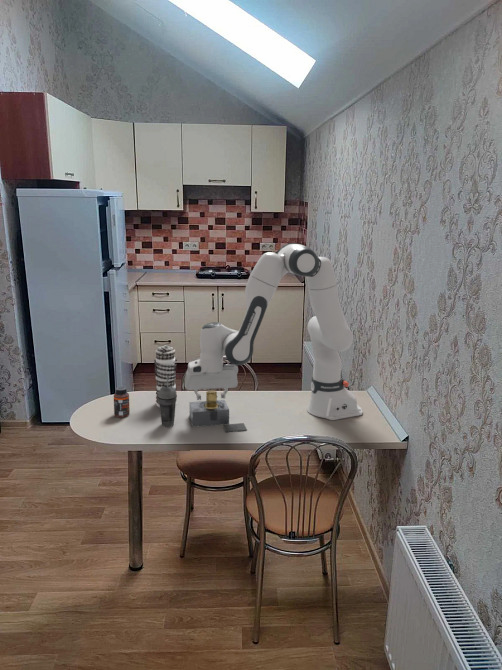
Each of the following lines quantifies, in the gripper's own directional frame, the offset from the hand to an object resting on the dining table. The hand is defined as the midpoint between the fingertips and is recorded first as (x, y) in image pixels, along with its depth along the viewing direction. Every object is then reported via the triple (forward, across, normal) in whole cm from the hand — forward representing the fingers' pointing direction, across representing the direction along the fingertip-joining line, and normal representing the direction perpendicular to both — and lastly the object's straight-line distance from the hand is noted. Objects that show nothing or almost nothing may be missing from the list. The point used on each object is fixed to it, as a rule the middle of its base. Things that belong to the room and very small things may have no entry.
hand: (211, 398), depth 202 cm
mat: (+9, -8, +9) cm, 15 cm away
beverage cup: (+9, +17, +1) cm, 19 cm away
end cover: (+7, 0, 0) cm, 7 cm away
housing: (+9, +1, 0) cm, 9 cm away
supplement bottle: (+9, +34, -11) cm, 37 cm away
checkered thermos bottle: (+9, +16, -19) cm, 26 cm away
